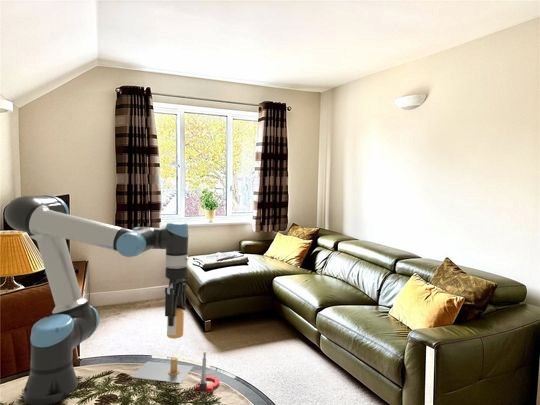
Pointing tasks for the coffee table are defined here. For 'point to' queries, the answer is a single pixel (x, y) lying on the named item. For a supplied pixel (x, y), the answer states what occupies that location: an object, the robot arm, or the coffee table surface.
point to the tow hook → (203, 384)
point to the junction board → (163, 371)
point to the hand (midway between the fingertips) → (175, 331)
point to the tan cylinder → (177, 324)
